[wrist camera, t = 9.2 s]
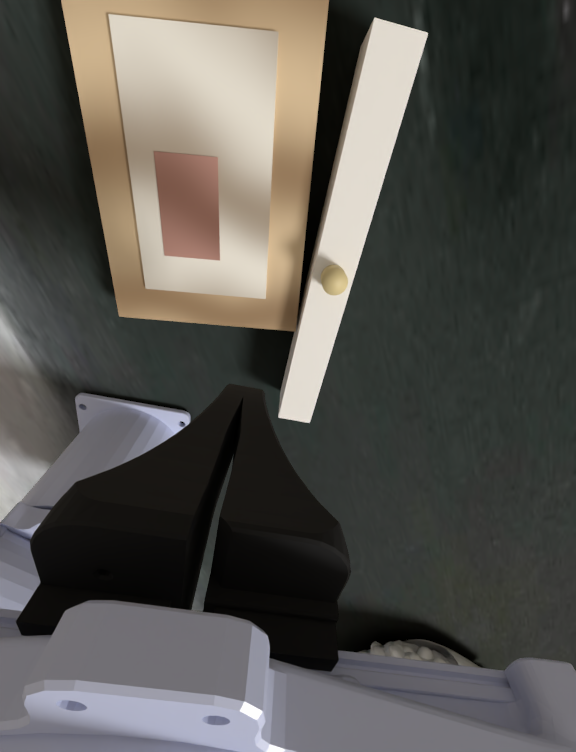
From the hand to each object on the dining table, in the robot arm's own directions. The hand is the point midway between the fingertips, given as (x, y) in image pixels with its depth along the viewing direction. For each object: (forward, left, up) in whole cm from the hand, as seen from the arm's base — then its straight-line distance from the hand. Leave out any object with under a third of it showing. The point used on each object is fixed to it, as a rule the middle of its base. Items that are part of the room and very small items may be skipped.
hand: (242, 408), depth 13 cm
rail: (+4, -3, -9) cm, 11 cm away
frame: (+7, +4, -10) cm, 13 cm away
